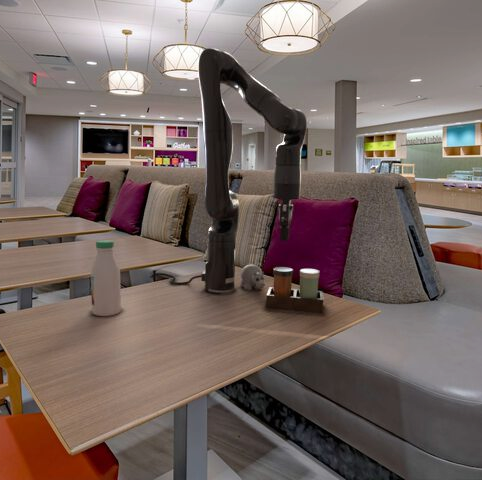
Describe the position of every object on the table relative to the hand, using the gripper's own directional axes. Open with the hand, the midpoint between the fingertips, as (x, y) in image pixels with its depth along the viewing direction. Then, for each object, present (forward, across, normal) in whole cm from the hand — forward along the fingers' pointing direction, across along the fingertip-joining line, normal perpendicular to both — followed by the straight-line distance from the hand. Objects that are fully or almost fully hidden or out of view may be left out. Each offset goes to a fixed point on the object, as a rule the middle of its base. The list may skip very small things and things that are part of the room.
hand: (284, 238), depth 120 cm
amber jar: (+20, 0, 0) cm, 20 cm away
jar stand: (+21, 0, +4) cm, 21 cm away
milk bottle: (+20, +17, -47) cm, 54 cm away
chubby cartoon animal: (+21, -14, -10) cm, 27 cm away
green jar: (+20, 0, +7) cm, 21 cm away
